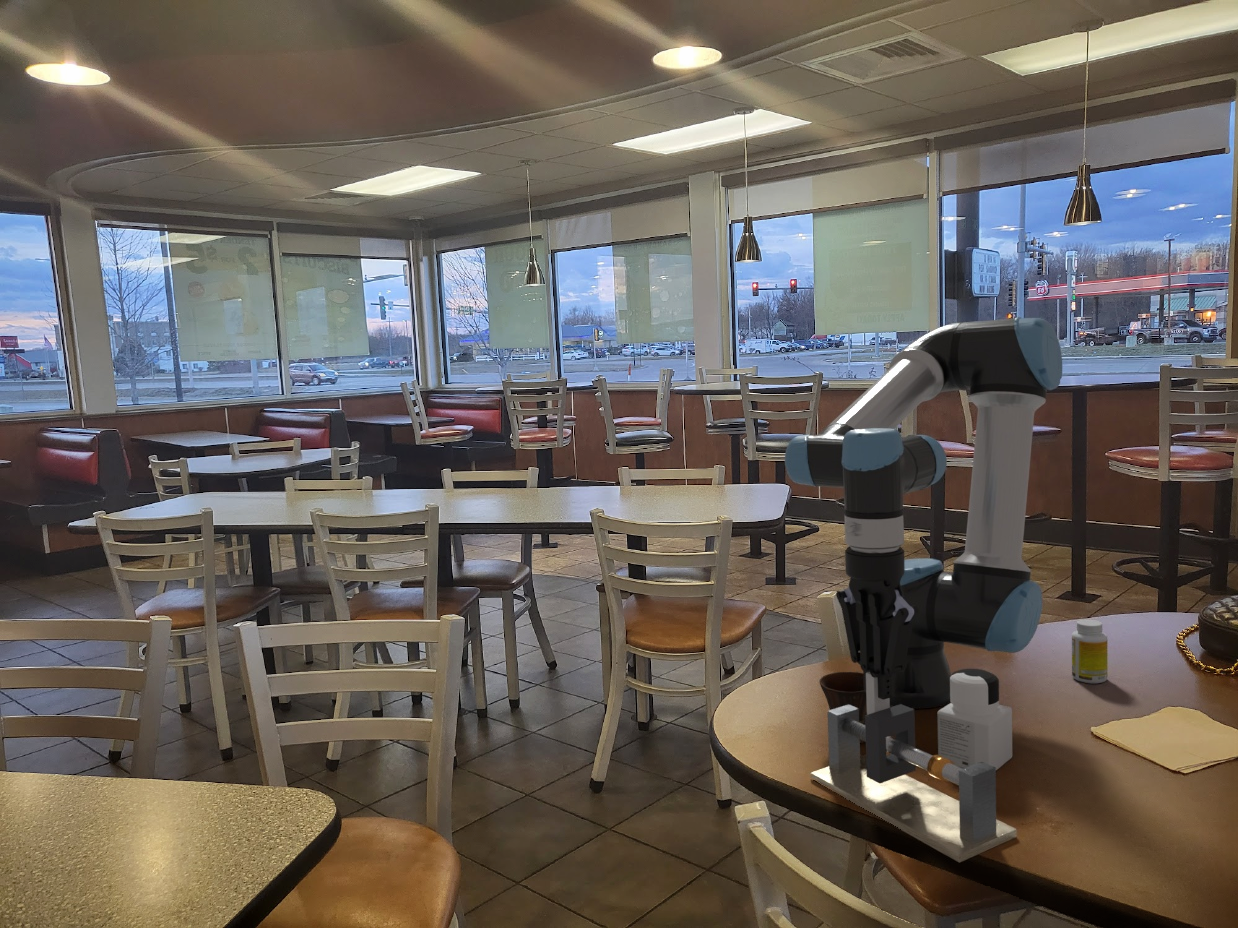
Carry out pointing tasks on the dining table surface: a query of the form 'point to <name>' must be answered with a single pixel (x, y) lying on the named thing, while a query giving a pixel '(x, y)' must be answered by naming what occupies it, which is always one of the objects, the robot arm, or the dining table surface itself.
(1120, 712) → the dining table surface
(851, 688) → the cup
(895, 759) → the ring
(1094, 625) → the supplement bottle
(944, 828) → the rail
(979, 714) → the container
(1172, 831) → the dining table surface
